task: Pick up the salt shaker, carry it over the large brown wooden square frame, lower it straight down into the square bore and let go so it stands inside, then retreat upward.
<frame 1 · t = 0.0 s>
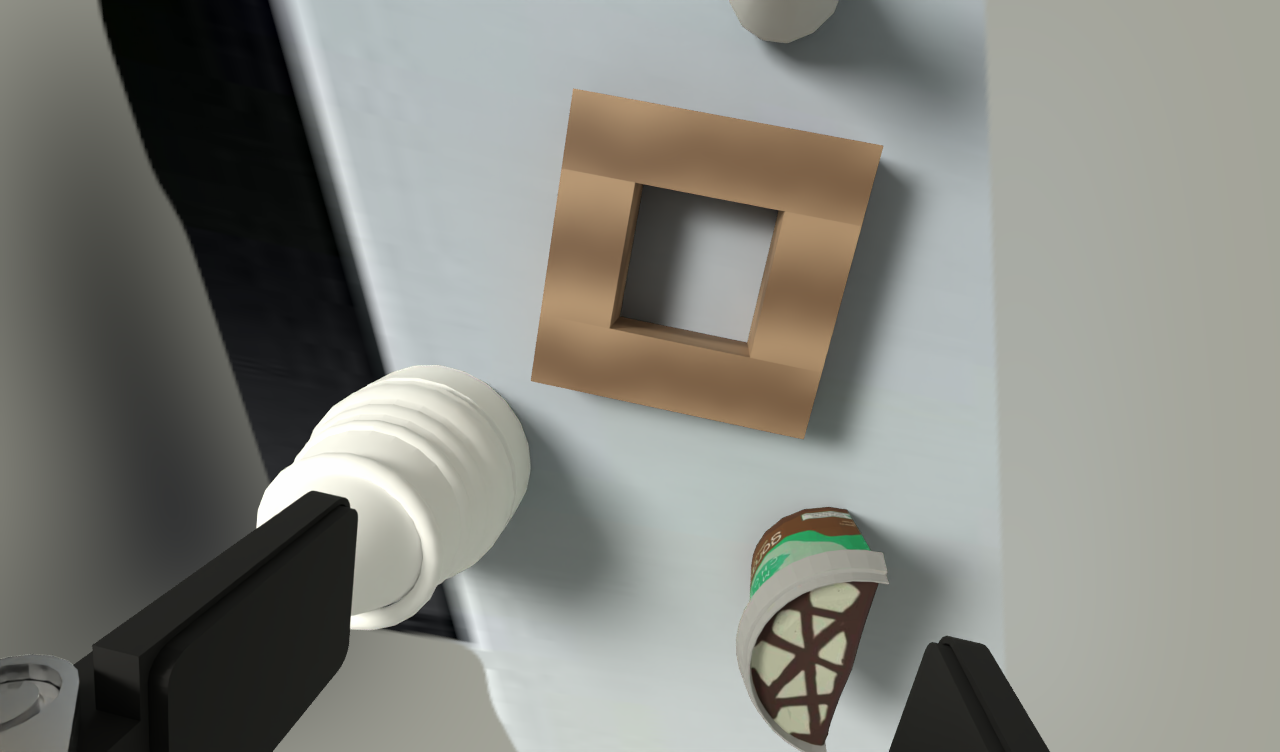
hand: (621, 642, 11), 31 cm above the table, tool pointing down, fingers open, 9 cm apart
food container: (780, 559, 44), on the table
brown wooden square frame: (696, 265, 40), on the table
honey pot: (439, 455, 45), on the table
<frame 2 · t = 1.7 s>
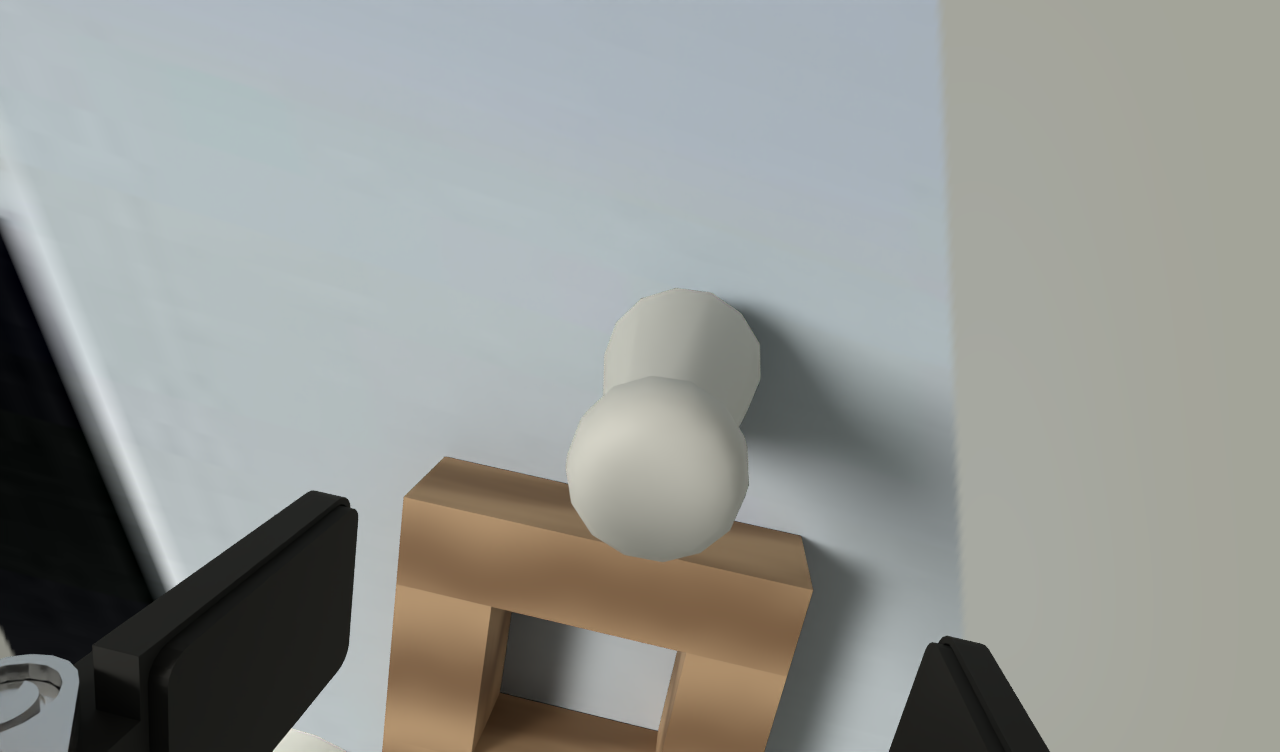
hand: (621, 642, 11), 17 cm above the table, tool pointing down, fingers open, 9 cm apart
brown wooden square frame: (591, 645, 31), on the table
salt shaker: (685, 349, 27), on the table
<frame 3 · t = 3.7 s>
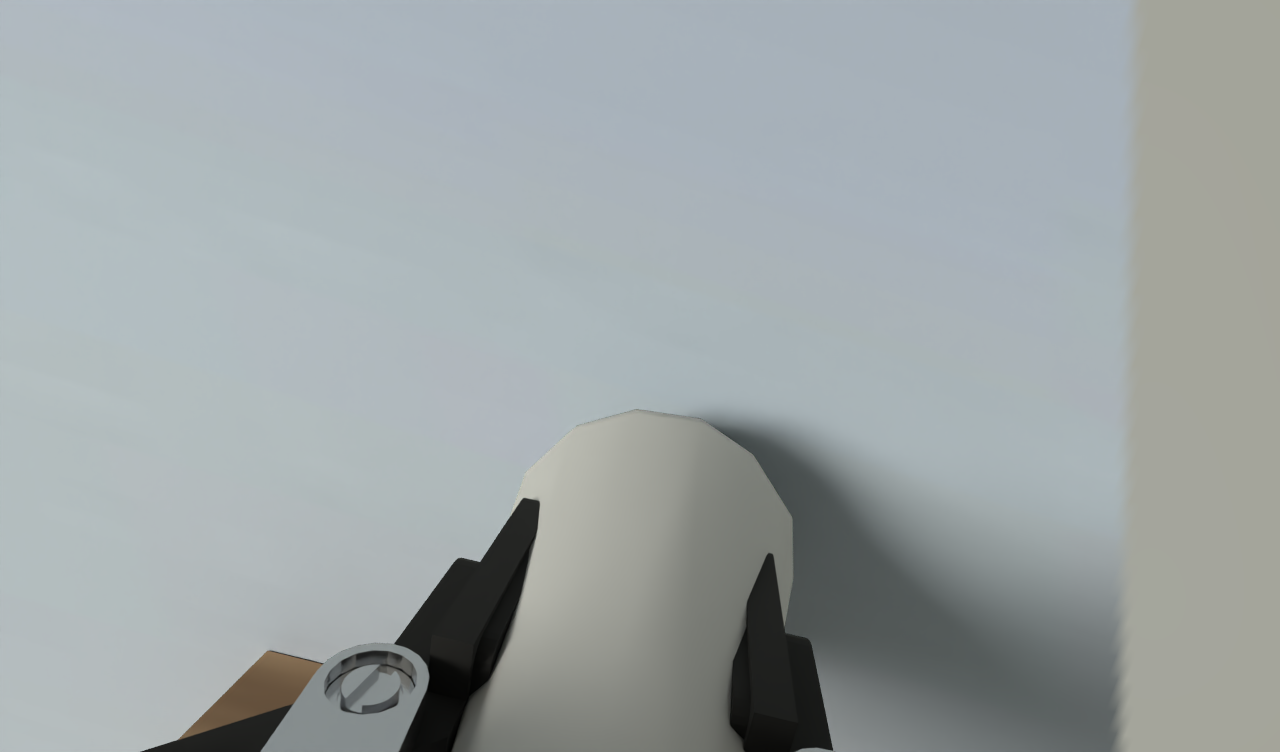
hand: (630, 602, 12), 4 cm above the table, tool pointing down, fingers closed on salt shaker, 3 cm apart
salt shaker: (659, 495, 16), on the table, touching gripper
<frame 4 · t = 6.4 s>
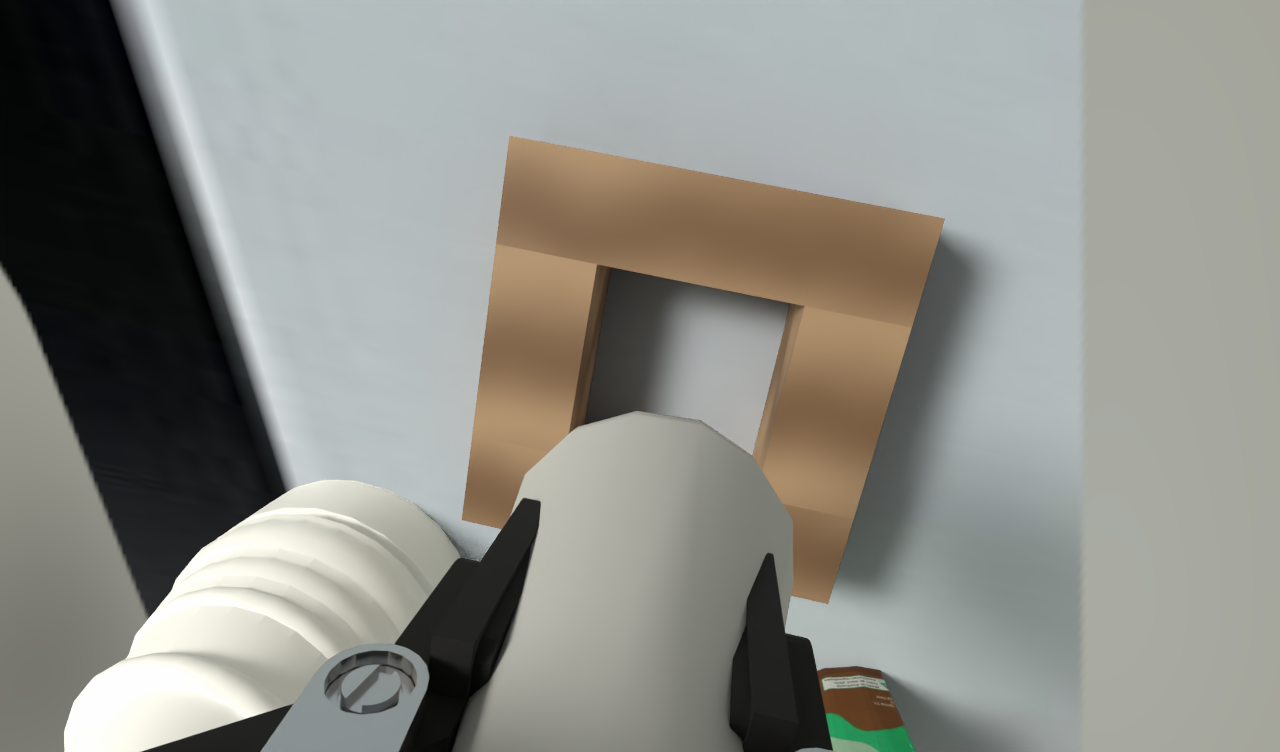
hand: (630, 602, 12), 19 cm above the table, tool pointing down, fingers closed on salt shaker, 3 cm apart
food container: (794, 727, 35), on the table
brown wooden square frame: (684, 361, 30), on the table
honey pot: (358, 589, 36), on the table
salt shaker: (659, 496, 16), point 15 cm above the table, touching gripper
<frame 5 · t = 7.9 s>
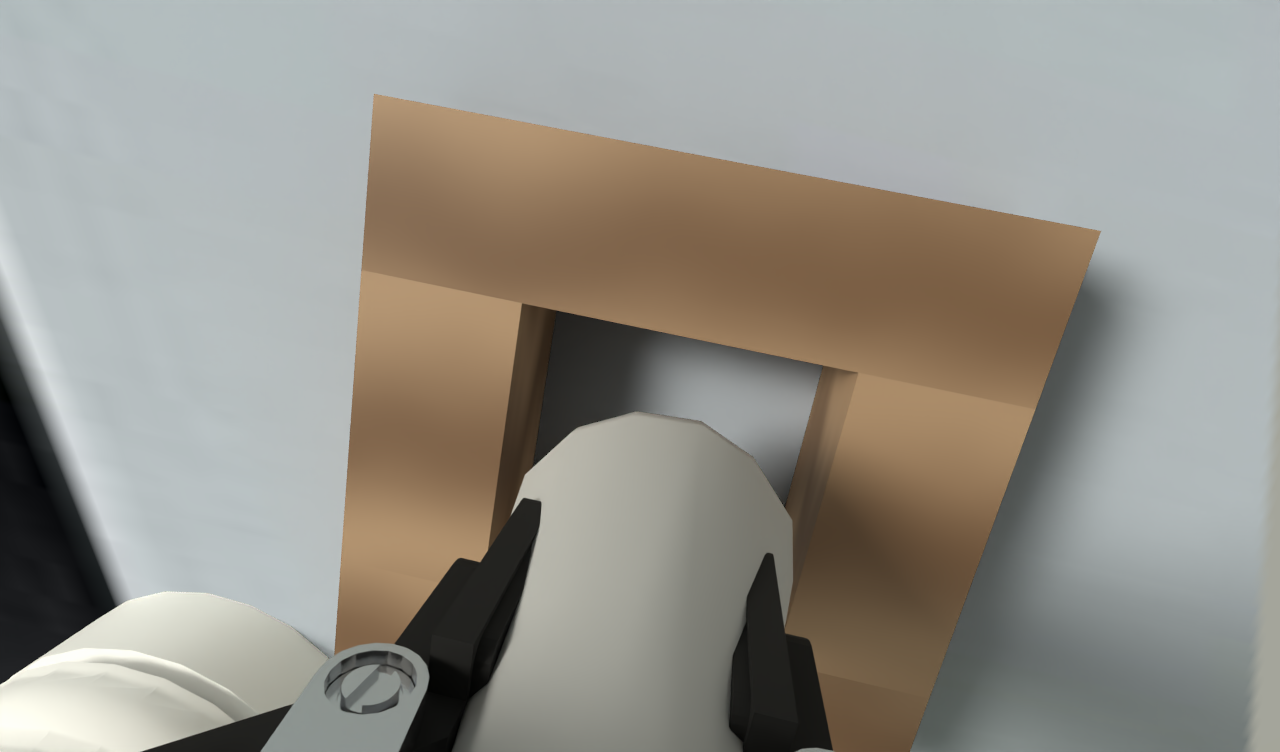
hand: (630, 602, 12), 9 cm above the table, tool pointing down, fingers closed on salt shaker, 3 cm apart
brown wooden square frame: (667, 437, 20), on the table
honey pot: (224, 734, 26), on the table
salt shaker: (658, 496, 16), point 5 cm above the table, touching gripper
when the fingers open (6 cm above the table, at t = 9.1 s): salt shaker drops 1 cm, resting in brown wooden square frame.
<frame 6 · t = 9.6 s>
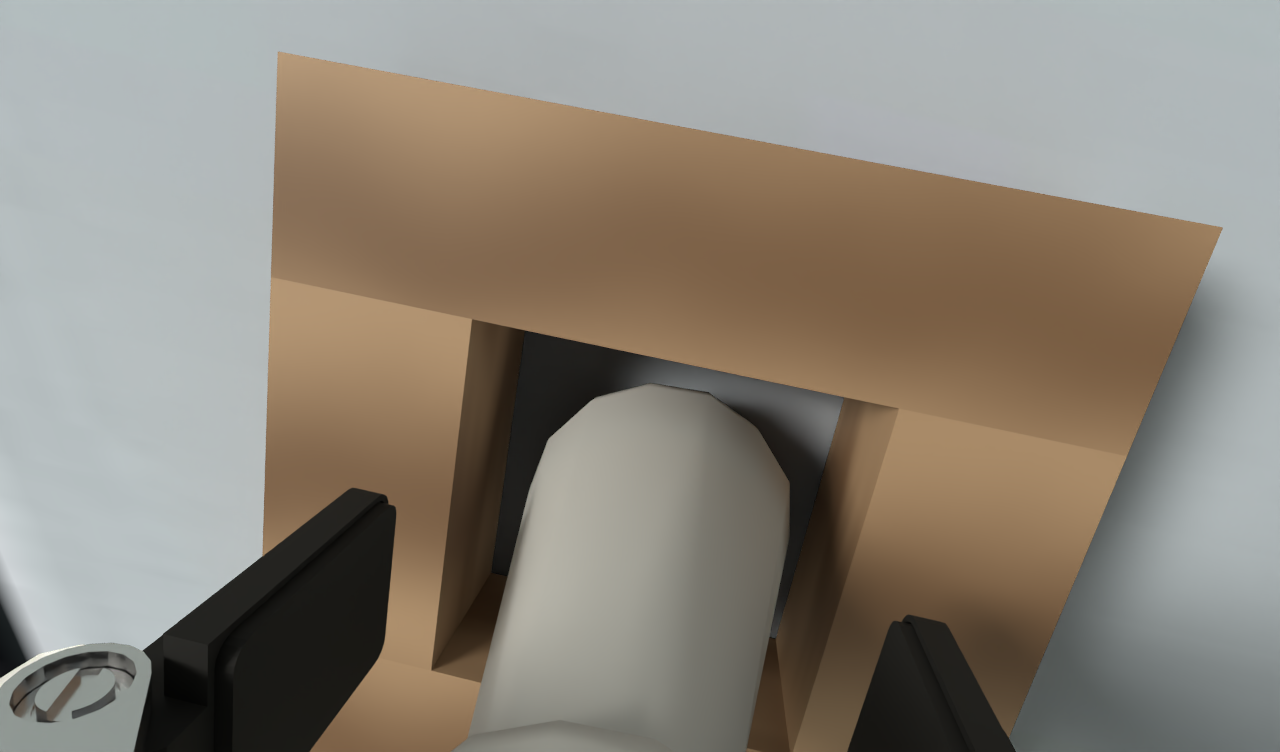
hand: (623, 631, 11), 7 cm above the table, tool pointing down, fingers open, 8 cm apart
brown wooden square frame: (659, 473, 17), on the table
salt shaker: (666, 466, 17), resting in brown wooden square frame
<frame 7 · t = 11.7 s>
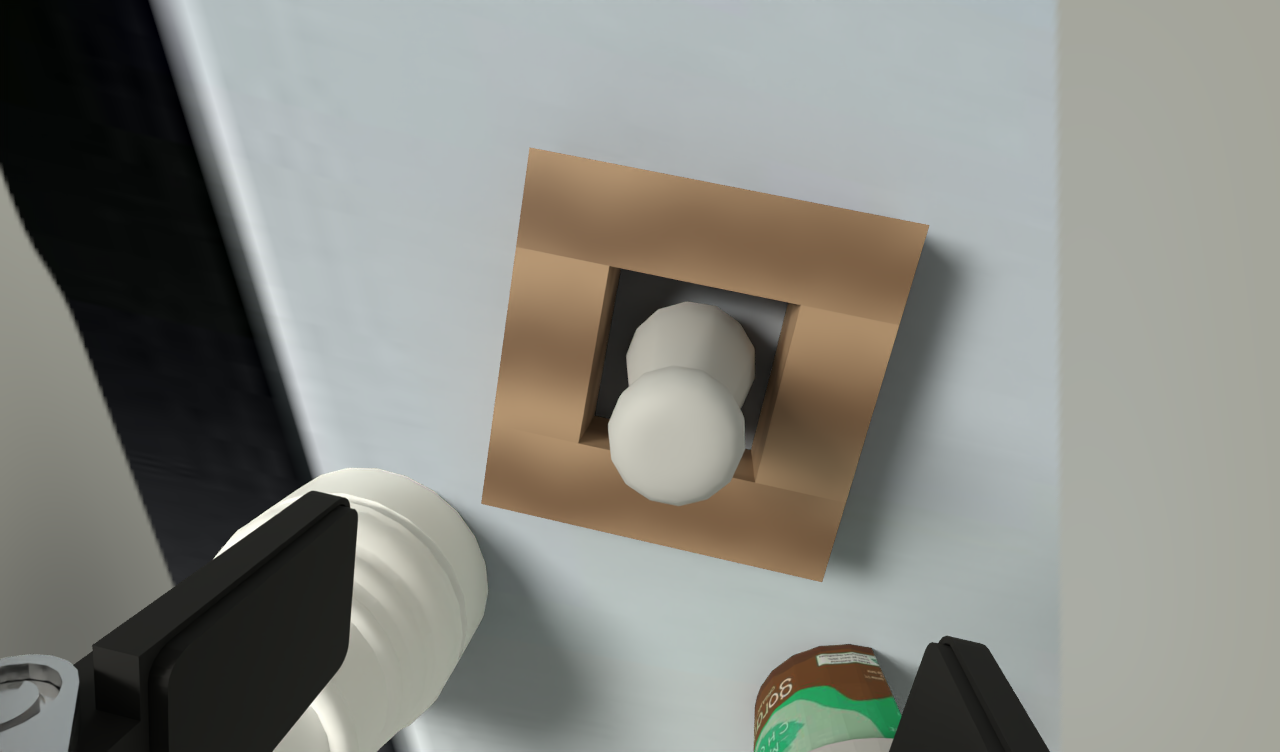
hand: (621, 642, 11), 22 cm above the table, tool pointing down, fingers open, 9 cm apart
food container: (790, 702, 37), on the table
brown wooden square frame: (688, 356, 32), on the table
honey pot: (379, 571, 38), on the table
salt shaker: (692, 353, 32), resting in brown wooden square frame
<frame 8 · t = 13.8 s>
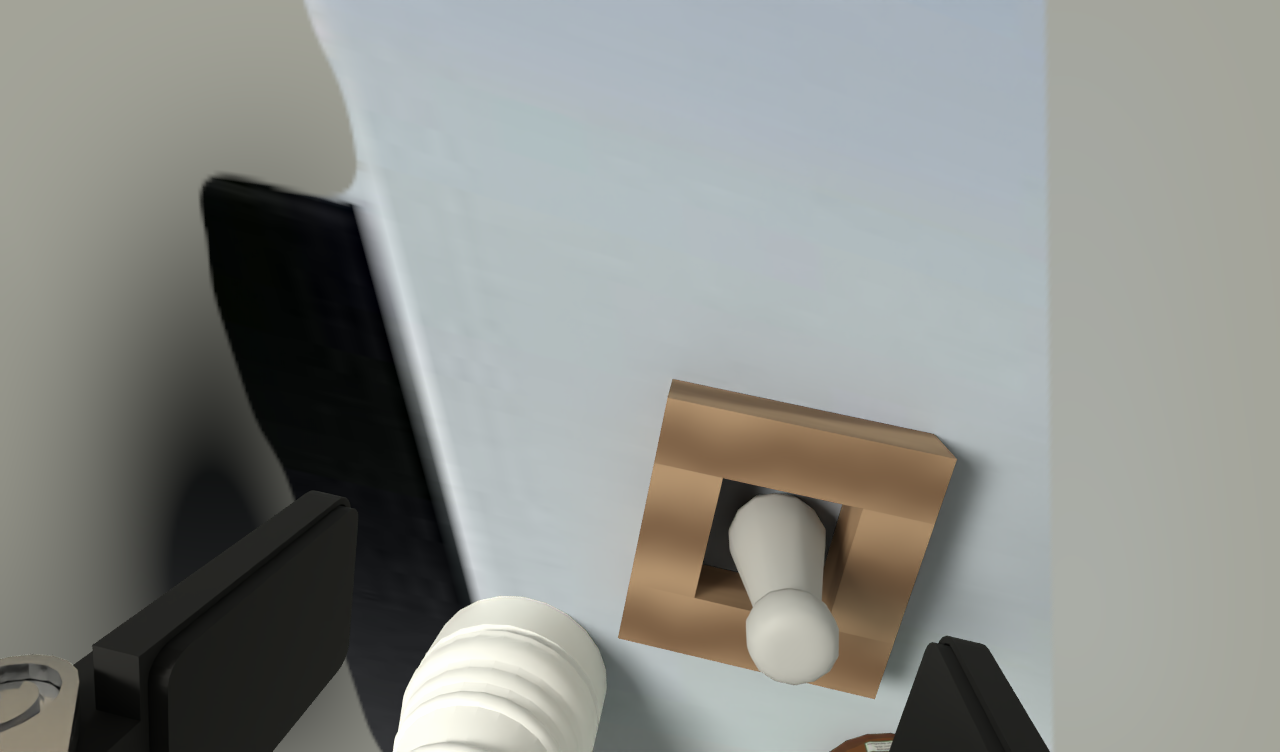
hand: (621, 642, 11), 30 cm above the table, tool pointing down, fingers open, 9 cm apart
brown wooden square frame: (770, 522, 42), on the table
honey pot: (520, 672, 48), on the table
salt shaker: (773, 519, 43), resting in brown wooden square frame
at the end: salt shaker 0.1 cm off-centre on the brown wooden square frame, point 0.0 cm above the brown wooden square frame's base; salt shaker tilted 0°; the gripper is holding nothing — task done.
